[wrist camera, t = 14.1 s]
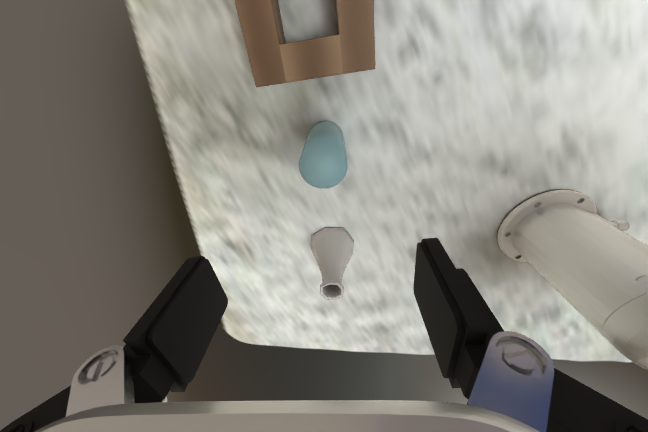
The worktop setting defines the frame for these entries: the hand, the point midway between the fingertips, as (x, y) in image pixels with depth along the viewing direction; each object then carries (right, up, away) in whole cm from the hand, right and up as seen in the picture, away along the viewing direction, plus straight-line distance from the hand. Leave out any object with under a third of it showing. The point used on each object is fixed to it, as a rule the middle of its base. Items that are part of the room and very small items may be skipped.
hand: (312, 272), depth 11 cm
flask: (+2, -2, +29) cm, 29 cm away
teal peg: (+1, +12, +20) cm, 24 cm away
